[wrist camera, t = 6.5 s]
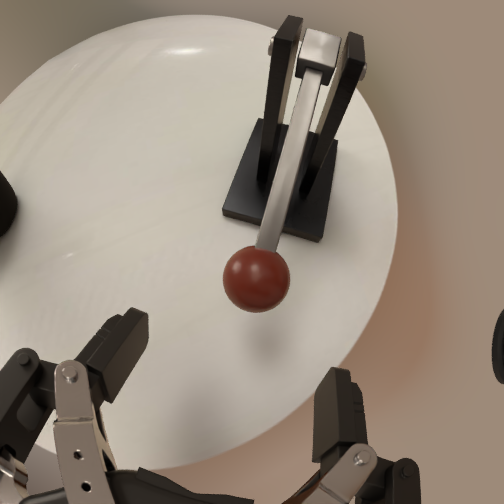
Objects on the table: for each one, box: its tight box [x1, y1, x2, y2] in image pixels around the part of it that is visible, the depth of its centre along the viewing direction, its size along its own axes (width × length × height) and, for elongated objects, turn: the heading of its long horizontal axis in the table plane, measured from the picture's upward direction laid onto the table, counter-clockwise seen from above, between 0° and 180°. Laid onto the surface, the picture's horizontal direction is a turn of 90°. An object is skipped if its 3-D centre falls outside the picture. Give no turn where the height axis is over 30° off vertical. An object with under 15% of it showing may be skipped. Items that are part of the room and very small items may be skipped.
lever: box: [223, 28, 341, 313], centre depth 14 cm, size 17×4×4 cm, turn 164°
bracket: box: [222, 15, 367, 242], centre depth 19 cm, size 12×9×16 cm
